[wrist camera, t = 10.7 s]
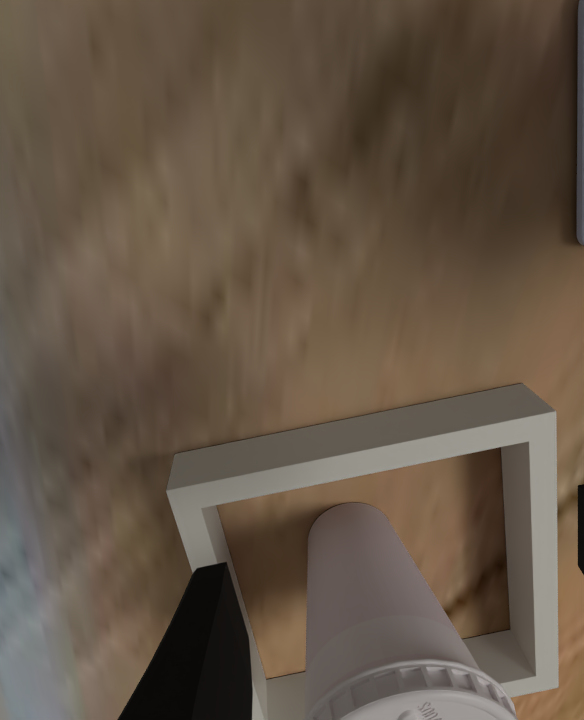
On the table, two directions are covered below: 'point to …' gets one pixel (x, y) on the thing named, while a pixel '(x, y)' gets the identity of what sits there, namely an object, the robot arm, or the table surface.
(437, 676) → the smoothie
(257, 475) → the white shallow square frame
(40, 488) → the table surface
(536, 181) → the table surface
